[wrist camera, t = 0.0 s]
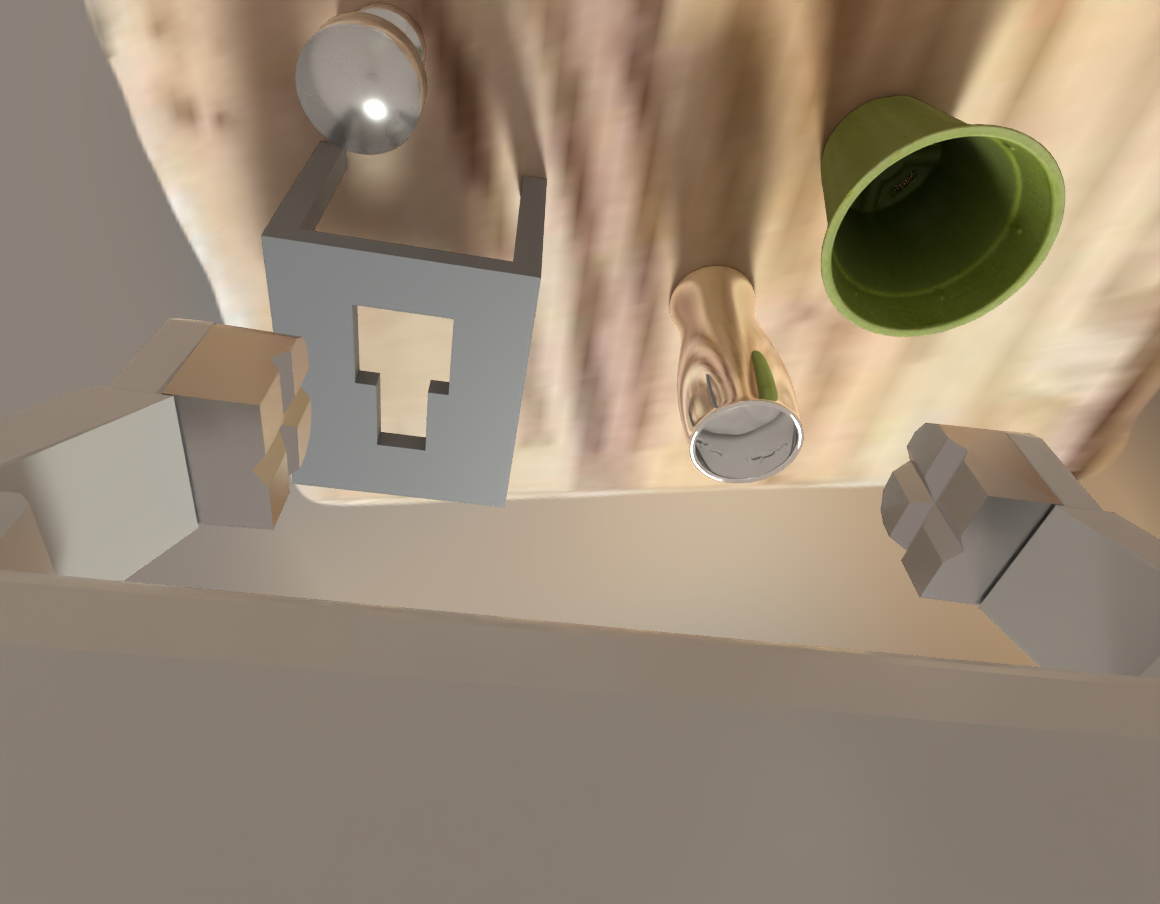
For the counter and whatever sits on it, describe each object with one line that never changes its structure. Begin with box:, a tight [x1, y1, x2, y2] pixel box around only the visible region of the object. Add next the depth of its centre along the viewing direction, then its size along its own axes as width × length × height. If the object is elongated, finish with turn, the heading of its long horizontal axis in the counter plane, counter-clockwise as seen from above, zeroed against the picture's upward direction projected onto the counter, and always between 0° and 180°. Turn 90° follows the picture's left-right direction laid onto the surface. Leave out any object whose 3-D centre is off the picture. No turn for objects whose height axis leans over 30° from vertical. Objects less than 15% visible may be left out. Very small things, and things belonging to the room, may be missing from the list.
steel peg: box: [295, 3, 427, 155], centre depth 39 cm, size 6×6×8 cm
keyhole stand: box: [261, 141, 547, 507], centre depth 48 cm, size 18×14×12 cm
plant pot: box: [821, 96, 1065, 337], centre depth 42 cm, size 12×12×11 cm
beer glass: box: [670, 266, 804, 483], centre depth 48 cm, size 7×7×15 cm
